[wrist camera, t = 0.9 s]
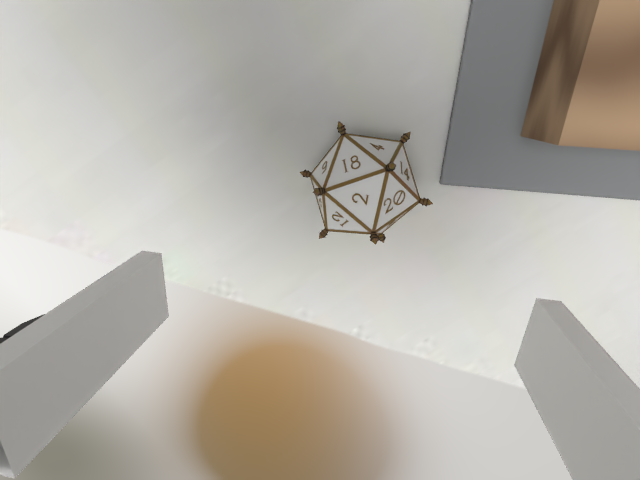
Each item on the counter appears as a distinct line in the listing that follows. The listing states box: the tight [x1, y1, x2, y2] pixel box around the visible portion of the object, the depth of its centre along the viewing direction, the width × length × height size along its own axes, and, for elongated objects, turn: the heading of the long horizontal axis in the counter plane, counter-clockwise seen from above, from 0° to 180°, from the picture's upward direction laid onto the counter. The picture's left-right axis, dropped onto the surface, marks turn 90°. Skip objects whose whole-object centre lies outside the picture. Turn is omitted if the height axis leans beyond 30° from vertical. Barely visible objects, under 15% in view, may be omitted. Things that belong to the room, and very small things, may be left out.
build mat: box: [440, 0, 640, 200], centre depth 24 cm, size 18×18×1 cm
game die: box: [300, 122, 433, 244], centre depth 26 cm, size 9×8×10 cm
